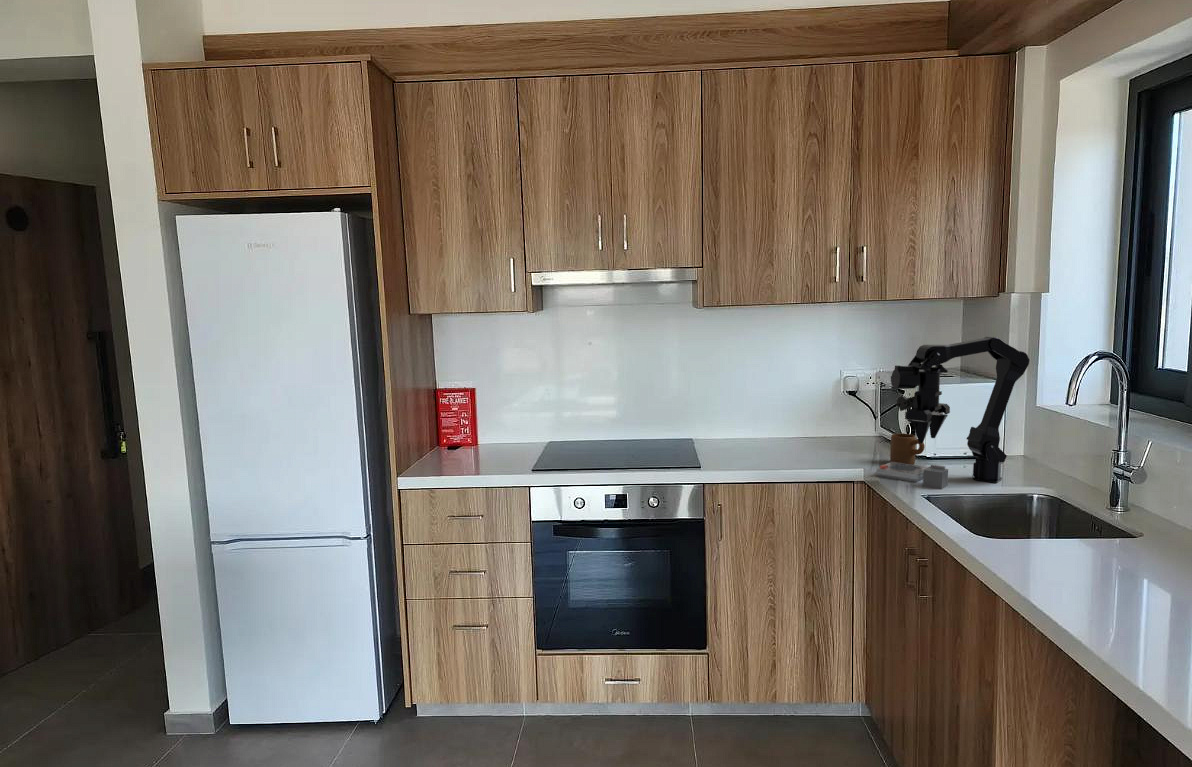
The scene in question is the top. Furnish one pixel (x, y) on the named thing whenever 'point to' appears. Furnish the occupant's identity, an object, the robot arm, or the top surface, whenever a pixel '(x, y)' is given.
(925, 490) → the top surface
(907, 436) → the mug
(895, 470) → the socket plate
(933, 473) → the plug
